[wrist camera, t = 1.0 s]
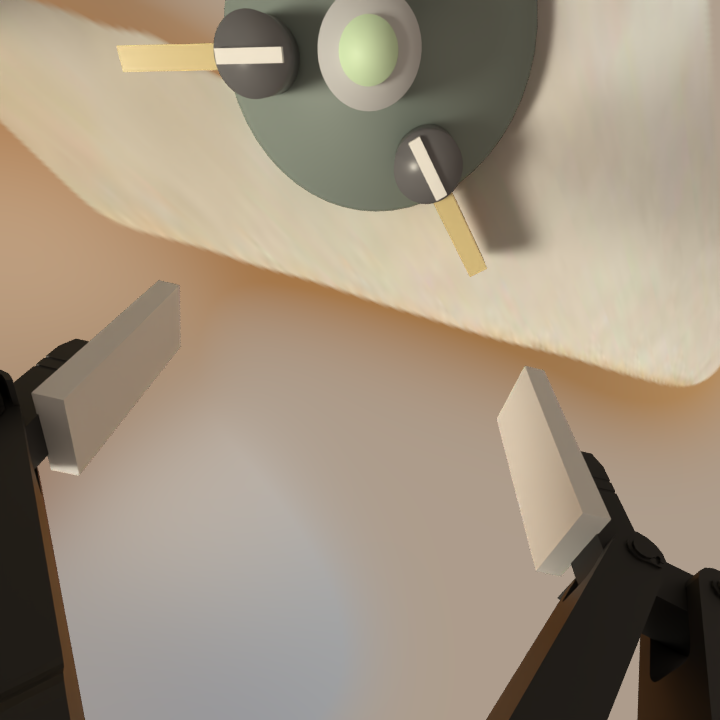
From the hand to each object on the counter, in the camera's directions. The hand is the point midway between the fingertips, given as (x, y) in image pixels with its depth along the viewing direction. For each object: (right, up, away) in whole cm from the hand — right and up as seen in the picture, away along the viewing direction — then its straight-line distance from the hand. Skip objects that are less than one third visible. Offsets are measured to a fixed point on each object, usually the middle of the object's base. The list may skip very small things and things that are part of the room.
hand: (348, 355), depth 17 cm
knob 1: (-8, +18, +10) cm, 22 cm away
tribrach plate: (+2, +18, +10) cm, 21 cm away
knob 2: (+6, +11, +13) cm, 18 cm away
